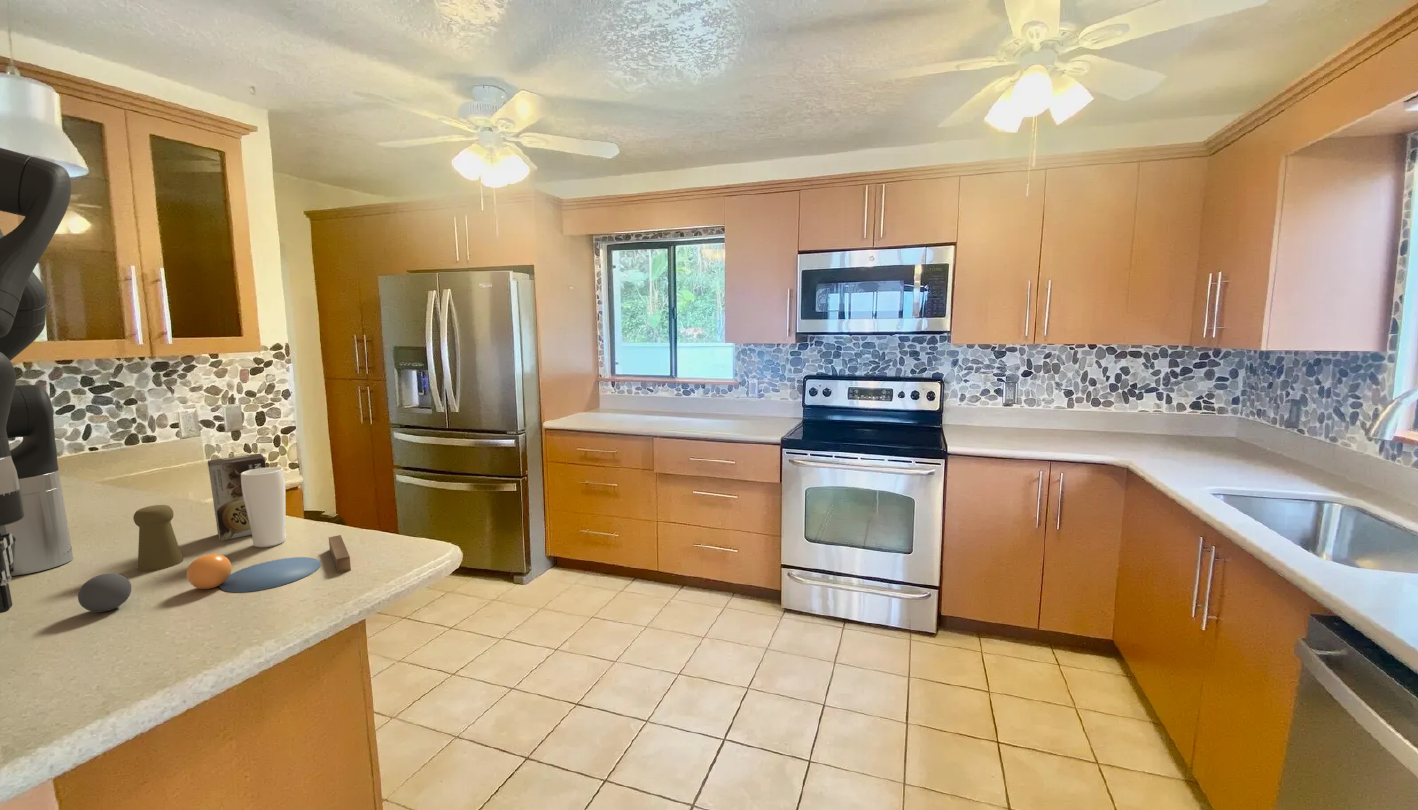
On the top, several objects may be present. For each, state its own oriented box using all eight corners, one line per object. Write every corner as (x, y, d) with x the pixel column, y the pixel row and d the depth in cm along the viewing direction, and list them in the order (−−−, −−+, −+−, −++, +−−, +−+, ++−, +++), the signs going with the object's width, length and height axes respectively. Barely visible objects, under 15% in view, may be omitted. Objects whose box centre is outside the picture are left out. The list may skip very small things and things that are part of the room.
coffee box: (270, 523, 126) (262, 452, 124) (274, 530, 121) (266, 457, 119) (216, 534, 120) (206, 459, 118) (219, 541, 115) (209, 464, 113)
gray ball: (76, 622, 83) (70, 586, 82) (85, 608, 87) (80, 574, 86) (130, 610, 86) (125, 575, 85) (136, 597, 90) (131, 564, 90)
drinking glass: (298, 540, 115) (290, 468, 113) (261, 551, 109) (252, 476, 107) (279, 535, 118) (271, 465, 116) (241, 546, 112) (232, 473, 110)
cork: (154, 572, 100) (146, 512, 99) (128, 570, 101) (119, 510, 100) (191, 559, 106) (184, 502, 105) (166, 557, 107) (158, 500, 106)
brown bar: (337, 572, 99) (336, 559, 99) (329, 549, 110) (328, 537, 110) (350, 569, 100) (349, 556, 100) (341, 547, 111) (340, 535, 111)
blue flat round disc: (217, 600, 89) (217, 599, 89) (221, 572, 100) (221, 570, 100) (323, 576, 98) (323, 574, 98) (317, 552, 109) (317, 551, 109)
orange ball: (187, 598, 90) (182, 564, 89) (190, 586, 94) (186, 554, 94) (233, 588, 93) (228, 555, 93) (234, 577, 98) (230, 546, 97)
